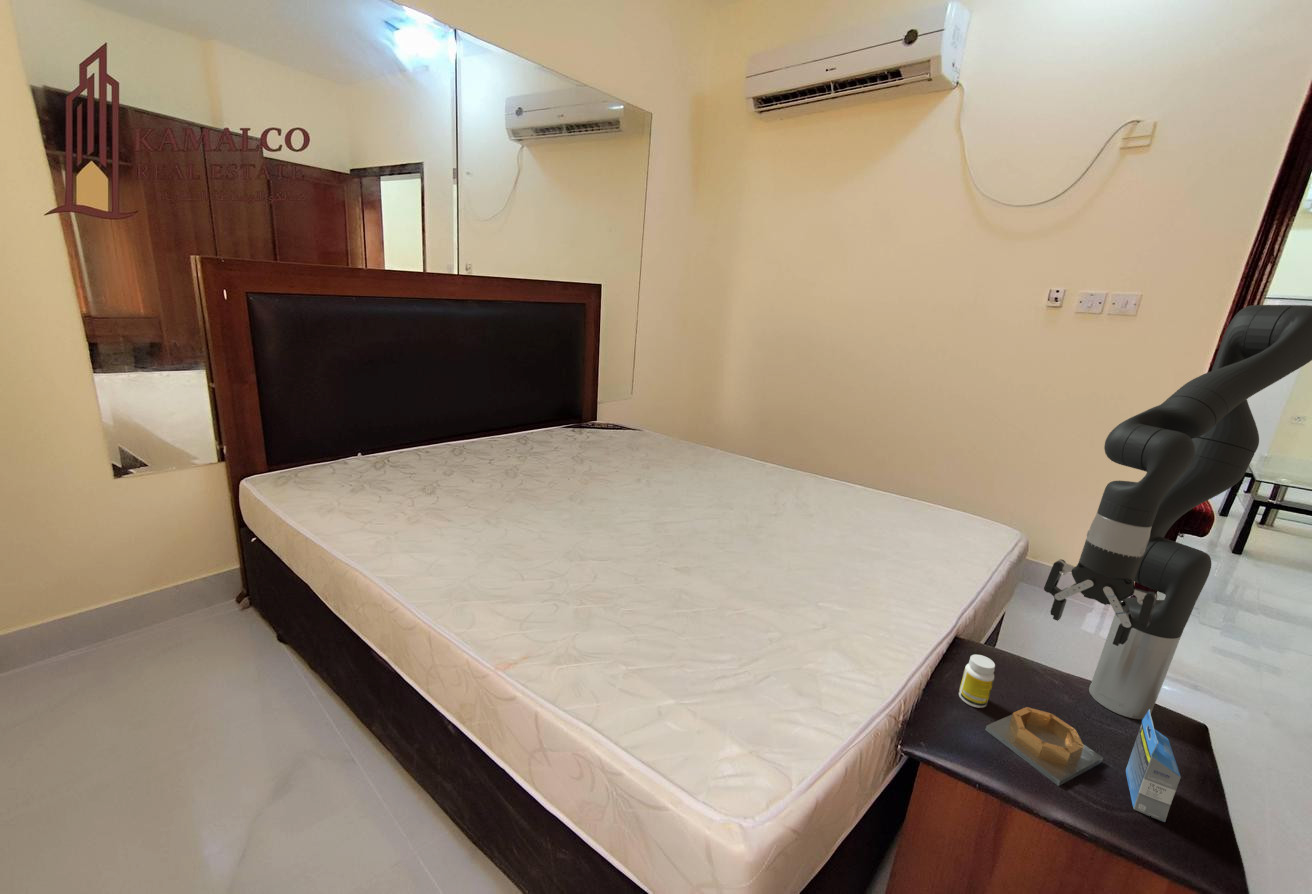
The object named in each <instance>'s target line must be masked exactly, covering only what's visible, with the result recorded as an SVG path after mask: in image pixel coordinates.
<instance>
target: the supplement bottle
mask: <svg viewBox="0 0 1312 894" xmlns="http://www.w3.org/2000/svg"><path fill="white" fill-rule="evenodd" d="M995 668H996V664H995V662H994V661H993V660H992V659H991V658H989V657H987V656H985V655H982V654H972V655H970V657H969V661H968V663H967V664H966V665H965V668H964V670H963V674H962V677H961V678H962V679H961V682H960V685H959V690H958V696H959V698H960V699H961V701H963V702H964V703H966V704H967V705H968V706H971V707H974V708H978V709H980V708H982V709H983V708H985V707H987V705H988V702H989V699H990V695H991V692H992V688H993V684H994V681H995V673H994V672H995Z"/></svg>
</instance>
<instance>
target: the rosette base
mask: <svg viewBox="0 0 1312 894" xmlns="http://www.w3.org/2000/svg"><path fill="white" fill-rule="evenodd" d="M985 731H986V733H987V732H988V733H989V734H990V735H991V736H992V737H994V738H995V739H996V740H998V741H999V742H1000V743H1002V744H1003V745H1004V746H1005V747H1007V748H1008V749H1010V750H1011V751H1012V752H1014V754H1016V755H1017V756H1018V757H1020V758H1022V760H1024V761H1025V762H1026V763H1028V764H1029V765H1030V766H1031V767H1033V768H1034V769H1036V770H1037V771H1038V772H1039V773H1040V774H1042V775H1043V776H1044V777H1046V778H1047V779H1048V780H1050V781H1051V782H1052V783H1054V784H1055V785H1056V786H1057V787H1060V786H1062V785H1063V784H1066V783H1067V782H1069V781H1070V780H1072V779H1074V778H1076V777H1078V776H1080V775H1081V774H1083V773H1085V772H1087V771H1088V770H1091V769H1092V768H1094V767H1096V766H1098V765H1100V764H1102V762H1103V759H1104V757H1103V756H1101V755H1100V754H1098V753H1097V752H1096V751H1095V750H1093V749H1091V748H1090V747H1089V746H1087V745H1085V744H1084V743H1083V741H1082V740H1081V737H1080V736H1079V733H1078V731H1077V729H1075V728H1074V727H1072V726H1071V725H1070V724H1068V723H1066V722H1065V721H1064V720H1062V719H1060V718H1059V717H1058V716H1056V715H1054V714H1053V713H1050V712H1048V711H1044V710H1039V709H1036V708H1032V707H1030V706H1029V707H1028V706H1026V707H1023V708H1020V709H1019V710H1017V711H1014V712H1012V714H1010V715H1007V716H1005V717H1003V718H1001V719H997V720H996V721H994V722H991V723H988V724H987V725H986V726H985Z"/></svg>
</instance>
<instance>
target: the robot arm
mask: <svg viewBox="0 0 1312 894" xmlns="http://www.w3.org/2000/svg"><path fill="white" fill-rule="evenodd" d="M1233 316H1234V317H1233V318H1232V319H1231V320H1230V323H1229V324H1228V326H1227V328H1226V330H1225V333H1224V334H1223V338H1222V341H1221V342H1220V346H1219V349H1218V351H1217V354H1216V357H1215V360H1214V363H1213V366H1212V369H1211V371H1208V372H1205V373H1203V374H1201V375H1199V376H1197V377H1195V378H1193V379H1191V380H1189V381H1188V382H1186V383H1184V384H1183V385H1182V386H1181V387H1179V388H1178V389H1177V390H1176V391H1175V392H1174V393H1173V394H1171V395H1170V396H1169V397H1168V398H1166V400H1165V401H1163V402H1162V403H1161V404H1158V405H1156V406H1153V407H1151V408H1149V409H1147V410H1144V411H1142V412H1141V413H1138V414H1136V415H1134V416H1131V417H1129V418H1127V419H1126V420H1123V421H1122V422H1120V423H1119V424H1118V425H1116V426H1115V427H1114V428H1113V429H1112V430H1111V431H1110V432H1109V433H1108V435H1107V437H1106V439H1105V441H1104V447H1103V449H1104V453H1105V456H1106V457H1107V458H1108V459H1109V460H1110V461H1111V462H1113V463H1115V464H1118V465H1121V466H1124V467H1128V468H1132V469H1136V470H1139V471H1143V472H1146V474H1145V475H1144V476H1143V478H1142V479H1140V480H1138V481H1137V482H1136V481H1129V480H1112V481H1110V482H1109V483H1107V485H1106V486H1105V488H1104V490H1103V492H1102V497H1101V500H1100V503H1099V505H1098V509H1097V512H1096V514H1095V516H1094V518H1093V519H1092V522H1091V523H1090V526H1089V529H1088V530H1087V533H1086V538H1085V541H1084V544H1083V548H1082V551H1081V553H1080V557H1079V560H1078V563H1077V564H1076V566H1074V565H1072V564H1069V563H1067V562H1066V560H1065V559H1062V558H1061V559H1058V560H1056V561H1055V562H1054V563H1053V565H1052V567H1051V569H1050V572H1049V573H1048V576H1047V578H1046V581H1045V584H1044V587H1043V591H1045V593H1048V594H1050V595H1051V596H1052V597H1053V598H1054V600H1053V603H1052V606H1051V609H1050V611H1049V612H1050V615H1051V616H1052V620H1055V621H1057V622H1059V621H1060V620H1061V618H1062V616H1063V612H1064V609H1065V606H1066V604H1067V601H1068V600H1067V599H1068V598H1069V597H1071V596H1074V595H1076V594H1079V593H1080V594H1081V595H1083V597H1084V598H1087V599H1090V600H1094V601H1096V602H1098V603H1100V604H1102V605H1105V606H1107V605H1109V606H1110V605H1111V608H1112V610H1113V612H1114V616H1113V619H1112V620H1111V624H1110V627H1109V631H1108V633H1107V636H1106V639H1105V641H1104V645H1103V648H1102V651H1101V653H1100V657H1099V659H1098V662H1097V664H1096V668H1095V670H1094V674H1093V676H1092V679H1091V682H1092V683H1090V685H1089V687H1088V688H1089V689H1088V691H1089V695H1091V696H1092V698H1093V699H1094V700H1095V701H1096V702H1097V703H1099V704H1100V705H1101V706H1102V707H1104V708H1106V709H1107V710H1108V711H1111V712H1114V713H1115V714H1118V715H1120V716H1123V717H1126V718H1130V719H1133V720H1134V719H1135V720H1143V718H1144V717H1145V715H1146V714H1147V712H1148V710H1149V709H1150V713H1151V714H1152V712H1153V710H1154V708H1155V707H1154V706H1156V702H1157V699H1158V698H1159V694H1160V692H1161V690H1162V687H1163V684H1164V682H1165V680H1166V677H1167V674H1168V671H1169V670H1170V666H1171V663H1172V661H1173V659H1174V656H1175V654H1176V650H1177V648H1178V646H1179V642H1180V641H1181V637H1182V636H1183V635H1182V634H1183V632H1184V630H1185V627H1186V626H1187V623H1188V622H1189V620H1190V617H1191V615H1192V612H1193V610H1194V607H1195V605H1196V603H1197V600H1198V599H1199V597H1200V595H1201V593H1202V591H1203V588H1204V586H1205V585H1206V583H1207V580H1208V578H1209V576H1210V573H1211V569H1212V558H1211V557H1210V555H1209V554H1208V553H1207V552H1205V551H1203V550H1201V549H1198V548H1195V547H1193V546H1188V545H1186V544H1183V543H1180V542H1177V541H1174V540H1170V539H1168V538H1165V536H1166V535H1167V533H1168V532H1169V530H1170V529H1171V527H1172V526H1173V525H1174V524H1175V522H1176V521H1178V520H1179V519H1180V518H1181V517H1182V516H1184V515H1185V514H1187V513H1188V512H1189V511H1191V510H1192V509H1195V508H1196V507H1198V506H1200V505H1202V504H1203V503H1205V502H1207V501H1209V500H1211V499H1213V498H1214V497H1217V496H1219V495H1221V494H1222V493H1224V492H1226V491H1228V490H1229V489H1231V488H1232V487H1234V486H1236V485H1237V484H1238V483H1239V482H1240V481H1241V480H1242V479H1243V478H1244V477H1245V474H1246V473H1247V470H1248V468H1249V466H1250V465H1251V462H1252V460H1253V458H1254V456H1255V453H1256V452H1257V450H1258V447H1259V446H1260V445H1259V444H1260V435H1259V431H1258V426H1257V423H1256V420H1255V418H1254V415H1253V413H1252V410H1251V408H1250V405H1249V401H1248V399H1249V398H1251V397H1252V396H1254V395H1256V394H1258V393H1259V392H1262V391H1263V390H1265V389H1266V388H1268V387H1270V386H1272V385H1274V384H1275V383H1276V382H1279V381H1280V380H1282V379H1284V378H1286V377H1287V376H1289V375H1291V373H1294V372H1295V371H1297V370H1298V369H1301V368H1302V367H1304V366H1306V365H1307V364H1309V363H1310V362H1312V305H1309V304H1308V305H1307V304H1253V305H1248V306H1245V307H1243V308H1242V309H1240V310H1239V311H1238V312H1237V313H1236V314H1235V315H1233ZM1068 573H1071V576H1072V578H1073V580H1074V583H1073V584H1070V585H1069V586H1067V587H1065V588H1062V589H1060V588H1059V587H1057V586H1058V584H1059V581H1060V579H1061V576H1066V574H1068ZM1135 583H1137V584H1139V585H1142V586H1144V587H1145V588H1149V589H1152V590H1150V591H1146V590H1143V589H1140V588H1136V586H1135ZM1153 590H1154V591H1153ZM1157 592H1159V593H1161V594H1163V595H1165V596H1164V597H1165V598H1164V599H1158V593H1157ZM1132 596H1133V597H1132ZM1134 596H1135V597H1134ZM1066 598H1067V599H1066Z"/></svg>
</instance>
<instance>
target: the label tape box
mask: <svg viewBox="0 0 1312 894" xmlns="http://www.w3.org/2000/svg"><path fill="white" fill-rule="evenodd" d="M1125 774H1126V775H1125V776H1126V779H1127V785H1128V789H1129V793H1130V800H1131V804H1132V807H1133V810H1134V811H1137V812H1139V813H1142V814H1143V815H1146V816H1148V817H1150V816H1151V817H1150V818H1153V819H1156V820H1158V821H1160V822H1162V823H1163V822H1164V823H1165V822H1166V820H1167V818H1168V814H1169V812H1170V811H1169V810H1170V808H1171V805H1172V802H1173V799H1174V797H1175V795H1176V793H1177V792H1176V791H1177V788H1178V786H1179V783H1180V780H1181V778H1182V776H1181V774H1180V770H1179V767H1178V764H1177V762H1176V757H1175V756H1174V752H1173V749H1172V745H1171V743H1170V740H1169V738H1168V737H1166V736H1165V735H1164V734H1162V733H1161V732H1160V731H1158V730H1157V729H1156V728H1155V726H1154V721H1153V718H1152V713H1150V709H1149V710H1148V712H1147V714H1146V715H1145V717H1144V718H1143V719H1141V723H1140V727H1139V730H1138V732H1137V736H1136V739H1135V742H1134V743H1133V747H1132V750H1131V753H1130V756H1129V759H1128V763H1127V766H1126V768H1125Z"/></svg>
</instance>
